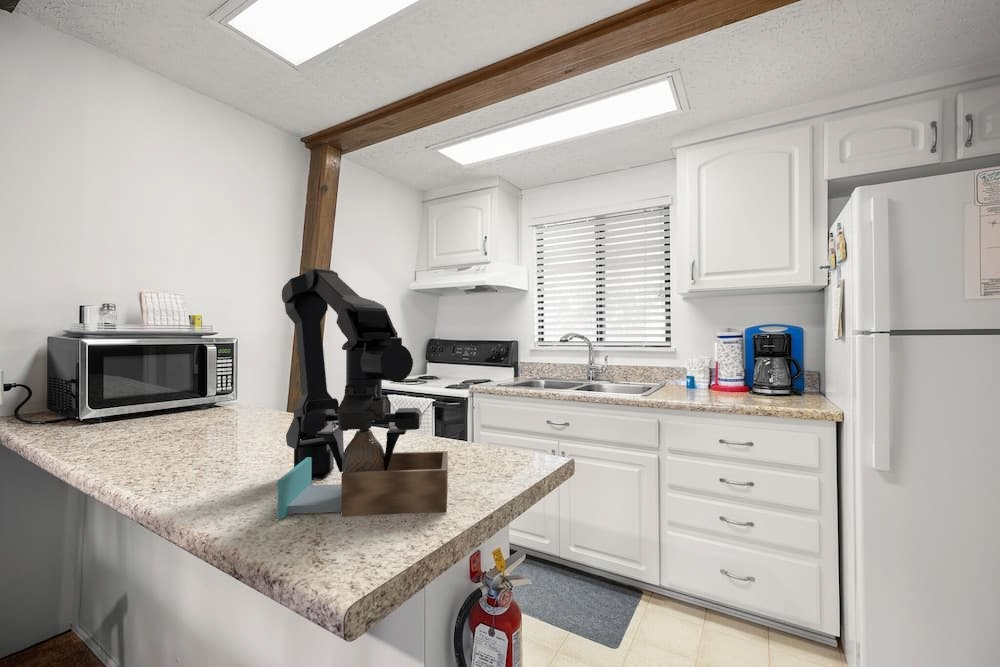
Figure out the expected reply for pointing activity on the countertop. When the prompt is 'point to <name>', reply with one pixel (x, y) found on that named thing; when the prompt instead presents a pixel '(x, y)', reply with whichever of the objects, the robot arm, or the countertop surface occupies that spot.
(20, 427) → the countertop surface
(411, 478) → the caddy
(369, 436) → the vase
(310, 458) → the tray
